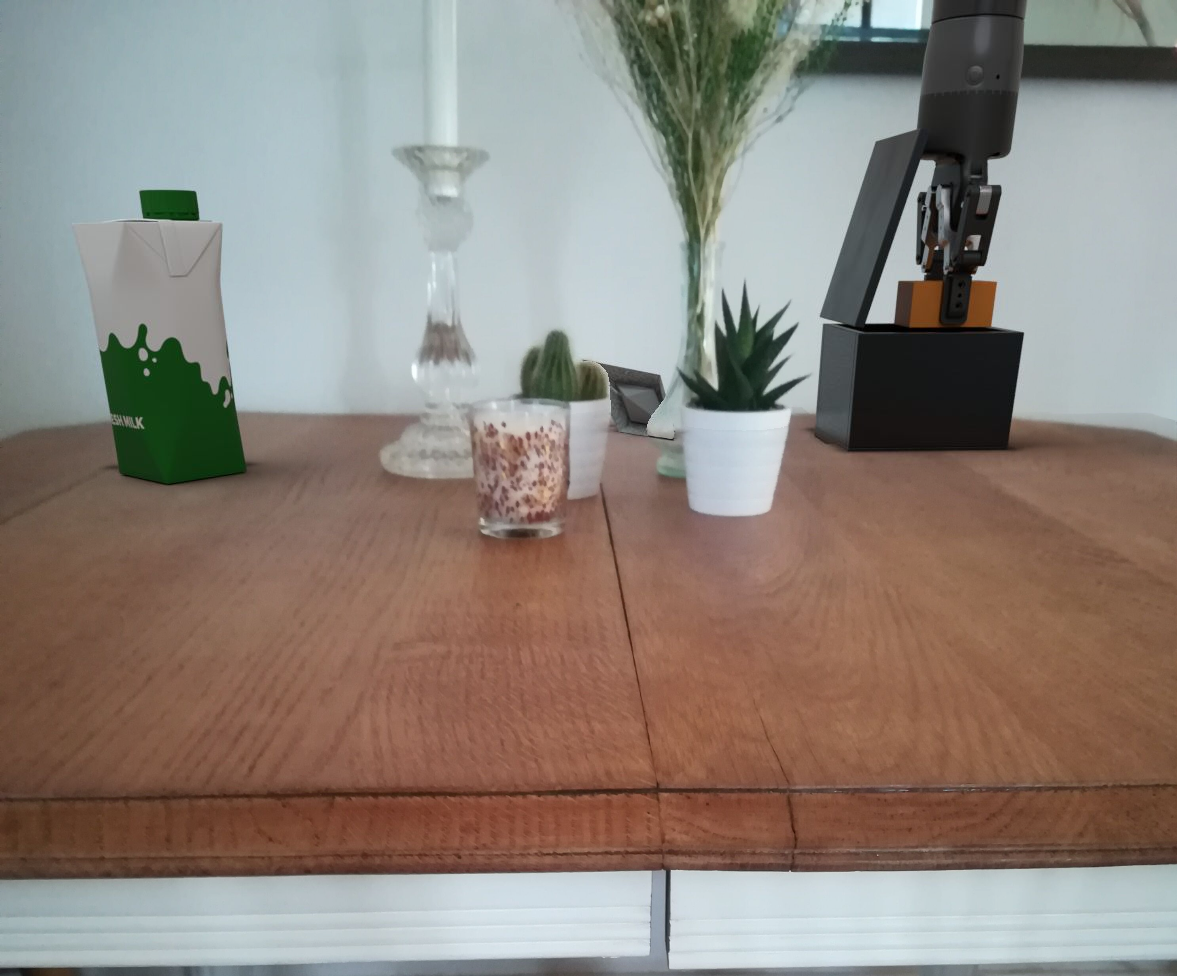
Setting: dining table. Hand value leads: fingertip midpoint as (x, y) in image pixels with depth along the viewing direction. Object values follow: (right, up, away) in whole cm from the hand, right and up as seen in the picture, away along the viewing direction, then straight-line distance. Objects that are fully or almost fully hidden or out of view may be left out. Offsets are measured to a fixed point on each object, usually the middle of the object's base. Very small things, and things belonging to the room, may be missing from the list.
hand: (942, 321), depth 99 cm
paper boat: (-26, -6, +12) cm, 29 cm away
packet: (0, 0, 0) cm, 0 cm away
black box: (-2, -9, +4) cm, 10 cm away
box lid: (-7, +6, -3) cm, 10 cm away
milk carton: (-62, -15, -7) cm, 65 cm away
